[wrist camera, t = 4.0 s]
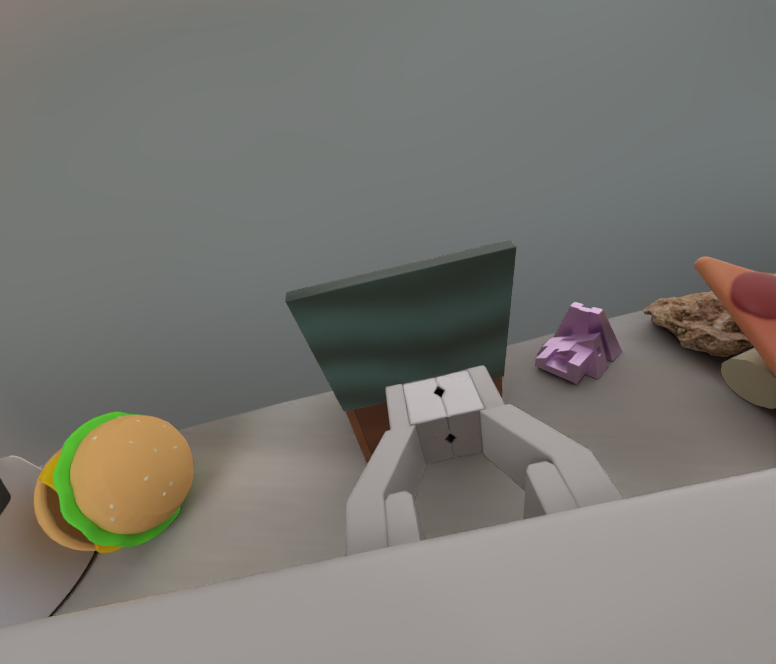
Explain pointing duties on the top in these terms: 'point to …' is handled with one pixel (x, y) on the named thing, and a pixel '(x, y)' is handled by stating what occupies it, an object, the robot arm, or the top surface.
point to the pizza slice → (746, 302)
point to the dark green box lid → (409, 322)
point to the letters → (580, 345)
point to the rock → (700, 323)
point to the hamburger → (114, 483)
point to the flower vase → (751, 378)
